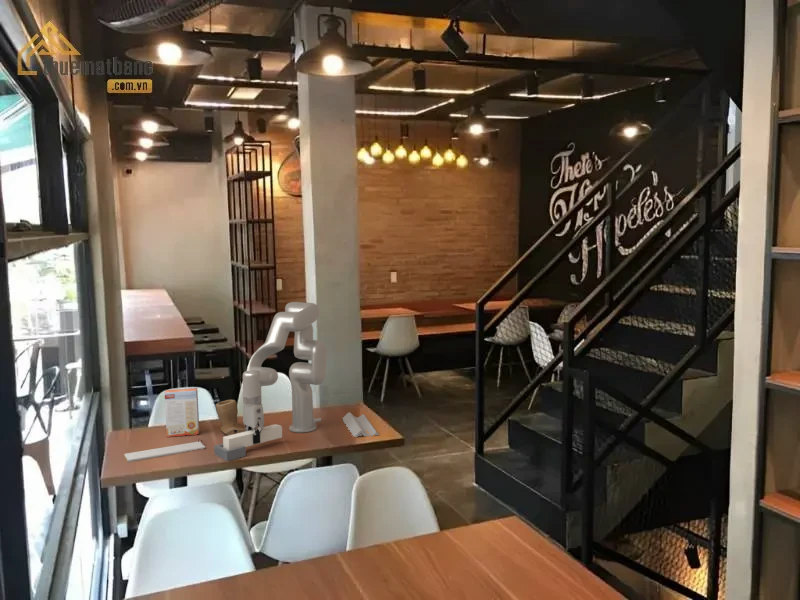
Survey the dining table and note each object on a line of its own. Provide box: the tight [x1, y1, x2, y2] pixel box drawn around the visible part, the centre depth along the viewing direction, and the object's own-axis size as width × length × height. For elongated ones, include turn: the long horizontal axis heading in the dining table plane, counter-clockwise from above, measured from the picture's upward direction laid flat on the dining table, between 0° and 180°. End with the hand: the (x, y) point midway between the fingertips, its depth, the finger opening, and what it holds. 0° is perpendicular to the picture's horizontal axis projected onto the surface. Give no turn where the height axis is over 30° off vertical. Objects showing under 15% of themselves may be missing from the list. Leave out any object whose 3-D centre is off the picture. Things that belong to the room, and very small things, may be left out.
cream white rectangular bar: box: [222, 423, 283, 450], centre depth 279 cm, size 26×4×5 cm, turn 135°
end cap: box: [213, 443, 247, 462], centre depth 272 cm, size 8×10×4 cm
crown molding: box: [341, 411, 380, 438], centre depth 311 cm, size 31×12×4 cm, turn 14°
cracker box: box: [164, 387, 200, 438], centre depth 301 cm, size 14×6×21 cm, turn 103°
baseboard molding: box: [123, 439, 206, 463], centre depth 278 cm, size 31×3×12 cm
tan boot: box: [215, 399, 246, 436], centre depth 303 cm, size 15×12×15 cm
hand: (253, 441), depth 279 cm, fingers closed on cream white rectangular bar, 4 cm apart
